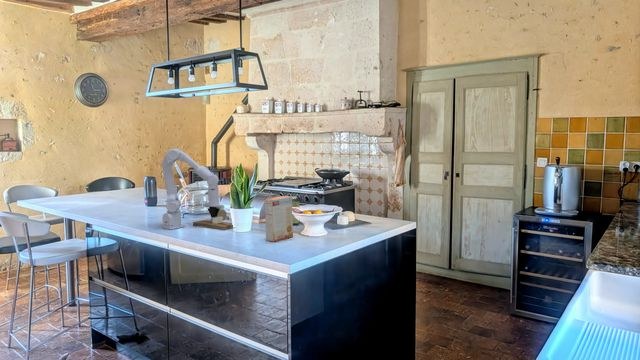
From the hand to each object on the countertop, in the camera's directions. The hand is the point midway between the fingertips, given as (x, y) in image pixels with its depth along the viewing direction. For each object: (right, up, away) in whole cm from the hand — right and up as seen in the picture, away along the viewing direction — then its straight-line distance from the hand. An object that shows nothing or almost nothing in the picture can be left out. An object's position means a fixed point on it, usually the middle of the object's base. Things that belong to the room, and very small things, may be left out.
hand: (214, 220), depth 258 cm
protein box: (+40, -3, +7) cm, 41 cm away
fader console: (0, -3, 0) cm, 3 cm away
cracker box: (+40, -7, -31) cm, 51 cm away
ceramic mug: (-1, -2, +22) cm, 22 cm away
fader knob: (+2, -1, -1) cm, 3 cm away
